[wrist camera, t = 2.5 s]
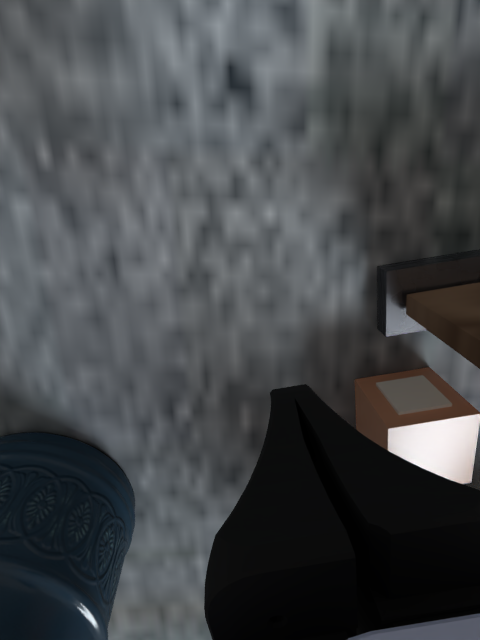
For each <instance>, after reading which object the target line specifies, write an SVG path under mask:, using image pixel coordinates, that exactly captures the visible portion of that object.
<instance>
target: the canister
mask: <svg viewBox="0 0 480 640" xmlns="http://www.w3.org/2000/svg"><path fill="white" fill-rule="evenodd" d="M134 511H135V498H134V493H133V489H132V487H131V484H130V482H129V480H128V479H127V477H126V475H125V474H124V473H123V471H122V470H121V469H120V468H119V467H118V466H117V465H116V464H115V463H114V462H113V461H112V460H111V459H110V458H109V457H107V456H106V455H105V454H103V453H102V452H100V451H99V450H97V449H95V448H93V447H91V446H89V445H87V444H85V443H83V442H80V441H78V440H75V439H72V438H68V437H64V436H60V435H55V434H48V433H33V432H32V433H17V434H10V435H6V436H2V437H0V640H108V630H107V628H108V624H109V620H110V616H111V612H112V608H113V604H114V599H115V595H116V591H117V587H118V583H119V579H120V574H121V570H122V566H123V562H124V558H125V555H126V554H127V552H128V549H129V547H130V544H131V540H132V534H133V531H134V526H135V512H134Z"/></svg>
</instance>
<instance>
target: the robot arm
mask: <svg viewBox="0 0 480 640" xmlns="http://www.w3.org/2000/svg"><path fill="white" fill-rule="evenodd" d="M270 395H271V412H270V419H269V424H268V429H267V433H266V437H265V441H264V445H263V448H262V451H261V454H260V457H259V459H258V462H257V465H256V467H255V469H254V471H253V474H252V476H251V478H250V480H249V482H248V484H247V486H246V488H245V490H244V492H243V494H242V495H241V497H240V499H239V501H238V502H237V504H236V506H235V508H234V509H233V511H232V512H231V514H230V515H229V517H228V518H227V520H226V521H225V523H224V524H223V525H222V527H221V528H220V530H219V531H218V533H217V534H216V536H215V539H214V542H213V546H212V550H211V554H210V558H209V562H208V568H207V574H206V581H205V604H204V609H205V618H206V621H207V624H208V627H209V630H210V633H211V636H212V639H213V640H480V491H479V490H477V489H474V488H471V487H468V486H466V485H463V484H460V483H458V482H455V481H452V480H449V479H447V478H444V477H441V476H439V475H437V474H434V473H432V472H430V471H428V470H425V469H423V468H421V467H419V466H417V465H415V464H412V463H410V462H408V461H406V460H405V459H403V458H401V457H399V456H397V455H395V454H393V453H391V452H390V451H388V450H386V449H384V448H383V447H381V446H379V445H378V444H376V443H375V442H373V441H372V440H370V439H369V438H367V437H366V436H364V435H363V434H362V433H360V432H359V431H357V430H356V429H355V428H354V427H352V426H351V425H350V424H348V423H347V422H346V421H345V420H344V419H342V418H341V417H340V416H339V415H338V414H337V413H335V412H334V411H333V410H332V409H331V408H330V407H329V406H328V405H327V404H326V403H325V402H323V401H322V400H321V399H320V398H319V397H318V396H317V395H316V394H315V392H314V391H313V390H312V389H311V388H310V387H309V386H308V385H306V384H304V385H298V386H292V387H286V388H280V389H274V390H272V391H271V392H270Z"/></svg>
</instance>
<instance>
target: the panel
mask: <svg viewBox="0 0 480 640" xmlns="http://www.w3.org/2000/svg"><path fill="white" fill-rule="evenodd" d="M406 315H408V316H409V317H410V318H412V319H413V320H415V321H416V322H417V323H419V324H420V325H421V326H423V327H424V328H425V329H427V330H428V331H429V332H431V333H432V334H433V335H435V336H436V337H438V338H439V339H440V340H442V341H443V342H444V343H446V344H447V345H448V346H450V347H451V348H452V349H454V350H455V351H457V352H458V353H459V354H461V355H462V356H463V357H465V358H466V359H467V360H469V361H470V362H471V363H473V364H474V365H475V366H477V367H478V368H480V282H479V283H473V284H467V285H461V286H455V287H449V288H443V289H436V290H430V291H424V292H418V293H412V294H407V301H406Z"/></svg>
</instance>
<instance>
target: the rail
mask: <svg viewBox="0 0 480 640" xmlns="http://www.w3.org/2000/svg"><path fill="white" fill-rule="evenodd" d="M479 282H480V250H474V251H467V252H461V253H455V254H449V255H443V256H437V257H431V258H425V259H419V260H413V261H407V262H401V263H395V264H389V265H383V266H378V330H379V331H381V332H382V333H383V334H384V335H385V336H386V337H388V336H394V335H400V334H406V333H413V332H419V331H425V330H427V329H425V328H424V327H423V326H421V325H420V324H419V323H417V322H416V321H415V320H413V319H412V318H410V317H409V316H408V315H406V301H407V294H412V293H418V292H424V291H430V290H436V289H443V288H449V287H455V286H461V285H467V284H473V283H479Z"/></svg>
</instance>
